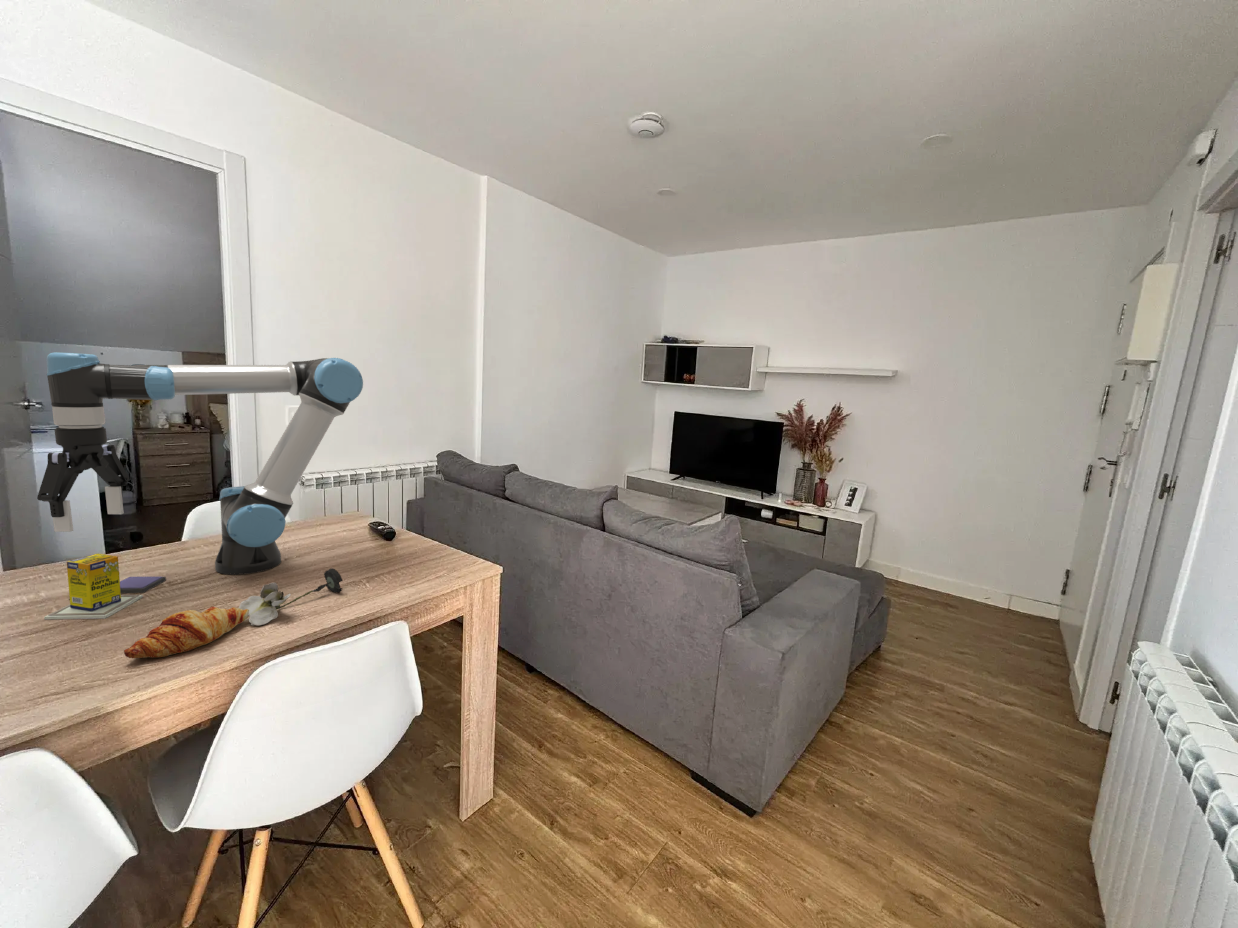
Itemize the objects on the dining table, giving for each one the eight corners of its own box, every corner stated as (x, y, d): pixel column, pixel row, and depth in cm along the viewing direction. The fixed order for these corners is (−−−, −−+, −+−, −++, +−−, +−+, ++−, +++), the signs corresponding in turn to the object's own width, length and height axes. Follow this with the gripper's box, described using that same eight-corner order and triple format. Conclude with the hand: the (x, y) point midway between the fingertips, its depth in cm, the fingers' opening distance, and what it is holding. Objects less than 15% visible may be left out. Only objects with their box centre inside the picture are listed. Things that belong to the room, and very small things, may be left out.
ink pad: (165, 580, 129) (165, 575, 129) (143, 592, 121) (142, 588, 121) (129, 580, 127) (129, 575, 127) (104, 593, 120) (103, 588, 119)
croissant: (241, 629, 113) (230, 595, 113) (266, 621, 109) (255, 586, 109) (119, 676, 94) (106, 635, 94) (144, 668, 90) (131, 626, 90)
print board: (142, 597, 119) (142, 594, 119) (105, 618, 108) (105, 614, 108) (88, 597, 117) (87, 594, 117) (44, 619, 106) (44, 615, 106)
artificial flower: (349, 599, 129) (352, 567, 125) (253, 642, 109) (253, 606, 106) (328, 583, 132) (331, 551, 129) (231, 622, 113) (231, 586, 109)
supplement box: (92, 612, 109) (87, 564, 108) (69, 608, 110) (64, 561, 109) (122, 601, 115) (119, 555, 114) (100, 597, 116) (97, 552, 114)
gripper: (106, 420, 118) (116, 507, 121) (-1, 431, 94) (15, 539, 97) (143, 422, 119) (151, 507, 123) (47, 433, 95) (61, 539, 99)
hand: (91, 522), depth 110 cm, fingers open, 13 cm apart
